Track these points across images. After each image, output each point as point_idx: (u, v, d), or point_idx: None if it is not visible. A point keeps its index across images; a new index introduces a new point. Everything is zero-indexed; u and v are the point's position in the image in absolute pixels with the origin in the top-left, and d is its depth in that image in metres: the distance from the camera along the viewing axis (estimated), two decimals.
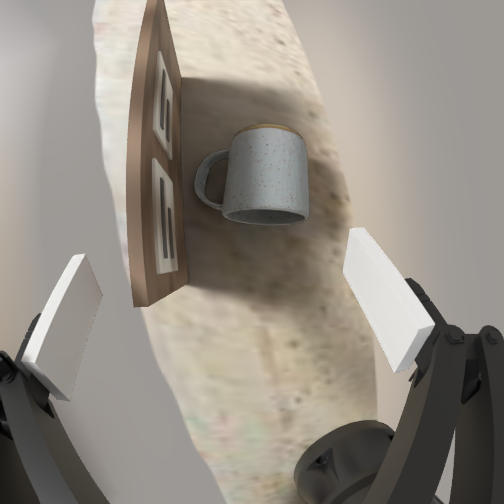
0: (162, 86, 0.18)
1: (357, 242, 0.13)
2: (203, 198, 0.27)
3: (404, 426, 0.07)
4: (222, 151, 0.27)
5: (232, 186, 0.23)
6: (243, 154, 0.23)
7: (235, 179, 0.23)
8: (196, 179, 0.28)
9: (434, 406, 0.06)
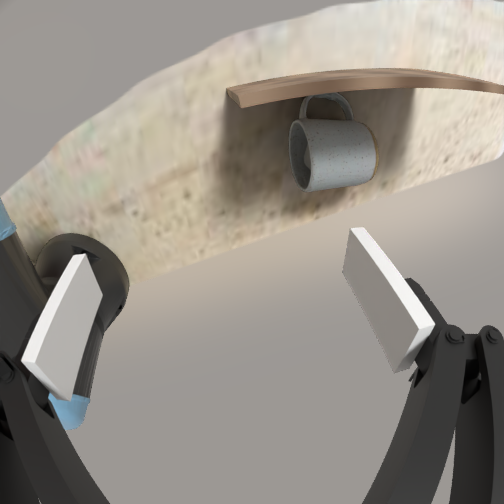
0: None
1: (357, 242, 0.13)
2: (309, 99, 0.27)
3: (404, 426, 0.07)
4: (351, 113, 0.27)
5: (325, 130, 0.25)
6: (353, 138, 0.25)
7: (331, 132, 0.25)
8: None
9: (434, 406, 0.06)
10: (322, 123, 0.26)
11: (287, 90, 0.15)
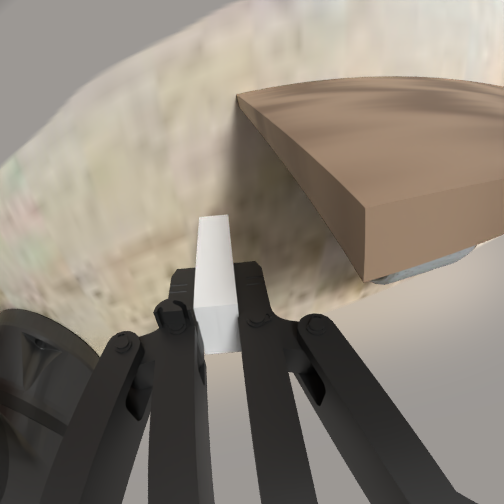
0: None
1: None
2: None
3: None
4: None
5: None
6: None
7: None
8: None
9: (260, 401, 0.07)
10: None
11: None
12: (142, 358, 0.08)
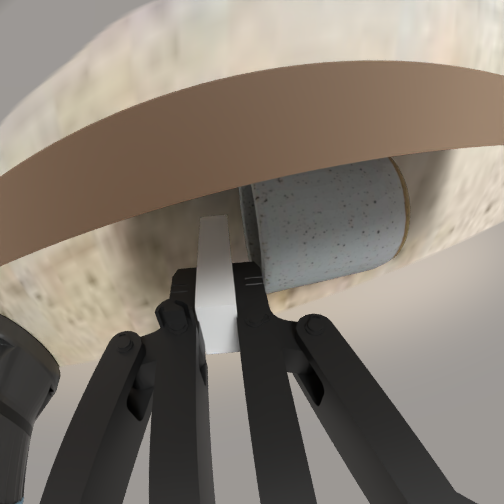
0: None
1: None
2: None
3: None
4: None
5: None
6: (361, 188, 0.12)
7: (314, 176, 0.12)
8: None
9: (259, 401, 0.07)
10: None
11: None
12: (143, 358, 0.08)
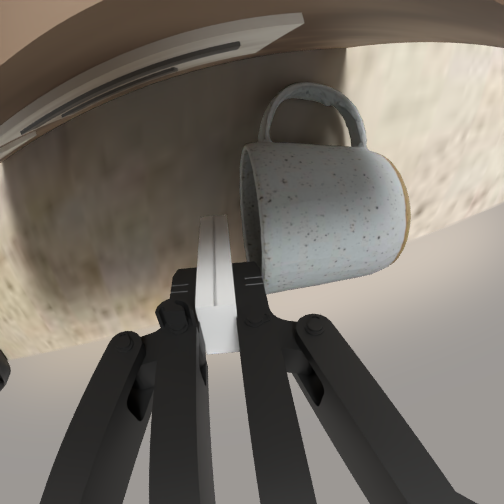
0: (150, 68, 0.04)
1: None
2: (279, 101, 0.13)
3: None
4: (363, 133, 0.14)
5: (304, 173, 0.12)
6: (364, 193, 0.12)
7: (318, 179, 0.12)
8: (313, 86, 0.13)
9: (259, 401, 0.07)
10: (299, 156, 0.12)
11: None
12: (144, 358, 0.08)
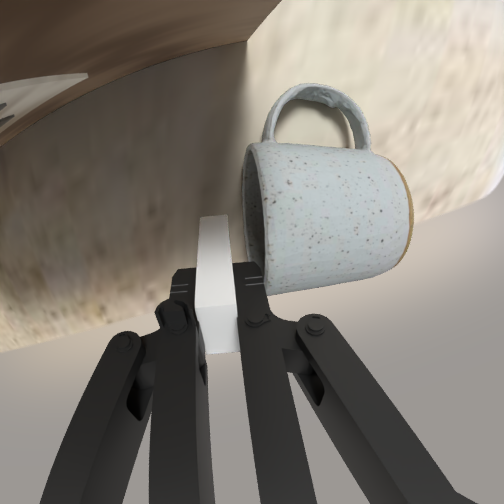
0: None
1: None
2: (284, 101, 0.13)
3: None
4: (367, 135, 0.14)
5: (309, 175, 0.11)
6: (368, 196, 0.12)
7: (323, 181, 0.12)
8: (318, 87, 0.13)
9: (259, 401, 0.07)
10: (304, 157, 0.12)
11: None
12: (143, 358, 0.08)
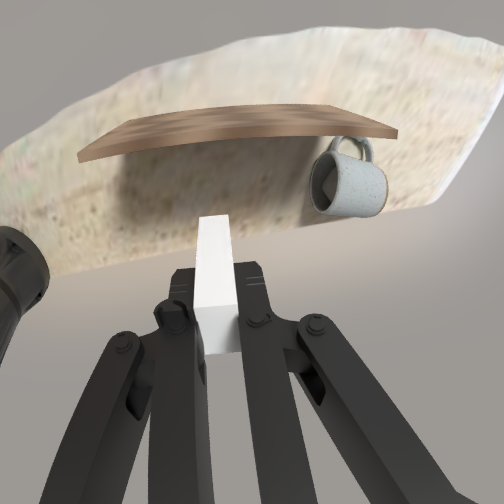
0: None
1: None
2: (342, 136, 0.32)
3: None
4: (372, 156, 0.33)
5: (353, 167, 0.30)
6: (372, 179, 0.31)
7: (357, 170, 0.30)
8: None
9: (260, 401, 0.07)
10: (350, 160, 0.31)
11: (111, 148, 0.17)
12: (142, 358, 0.08)
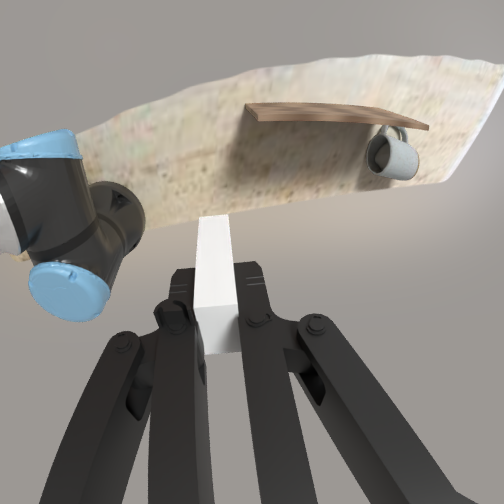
0: None
1: None
2: None
3: None
4: (407, 139, 0.45)
5: (398, 144, 0.42)
6: (409, 152, 0.43)
7: (400, 146, 0.42)
8: None
9: (260, 401, 0.07)
10: (396, 140, 0.43)
11: (282, 116, 0.30)
12: (142, 358, 0.08)
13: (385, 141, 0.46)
